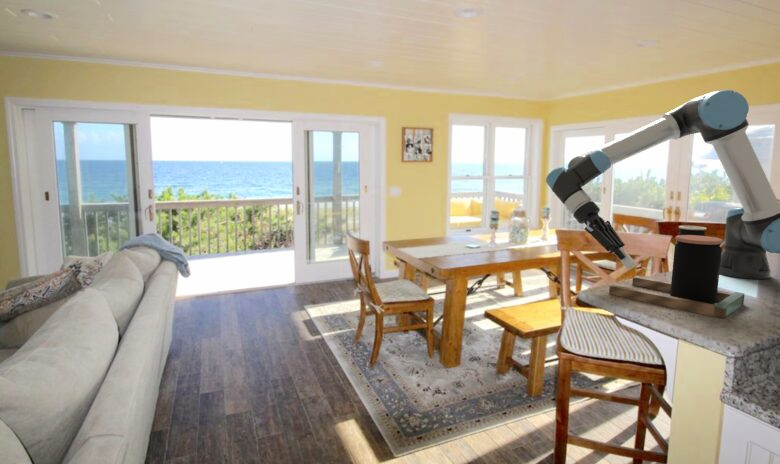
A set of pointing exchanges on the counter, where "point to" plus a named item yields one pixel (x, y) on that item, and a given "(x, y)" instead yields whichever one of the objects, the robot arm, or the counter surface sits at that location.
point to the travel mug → (692, 230)
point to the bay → (721, 310)
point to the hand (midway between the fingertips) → (632, 267)
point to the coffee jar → (696, 268)
